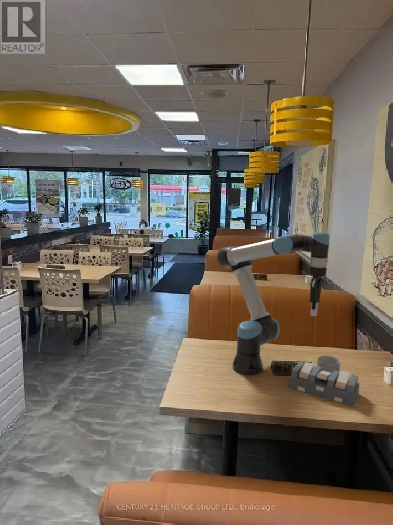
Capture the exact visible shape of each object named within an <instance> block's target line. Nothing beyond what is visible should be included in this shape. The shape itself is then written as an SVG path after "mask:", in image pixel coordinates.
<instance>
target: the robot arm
mask: <svg viewBox="0 0 393 525" xmlns="http://www.w3.org/2000/svg"><path fill="white" fill-rule="evenodd" d="M329 248H330V234H329V233H327V232H318V231H317V232H313V233H312V235H305V234H292V233H291V234H290V235H287V236H286V235H283V236H279V237H276V238H273V239H268V240H264V241H260V242H255V243H252V244H247V245H240V244H239V245H232V246H224V247H222V248H220V249H219V250H218V252H216V262H217V264H218V266H219V267H220V268H223V269H227V270H229V269H230V270H231V272H232V274H234V275H235V276H236V278H237V281H238V284H239V287H240V289H241V293H242V295H243V299H244V301H245V303H246V306H247V310H248V311H249V314H250V318H249V320H245V321H241V322H240V323H239V325H238V326H237V332H236V333H237V339H236V353H235V356H234V358H233V361H232V369H233V371H235V372H237V373H239V374H241V375H249V376H250V375H257V374H260V373H262V372H263V368H264V365H263V361H262V360H263V359H262V358H261V357H262V356H261V347H262V346H263V345H265V344H268V343H270V342H273V341H274V340H276V339H277V338H278V337H279V335H280V331H281V329H280V328H281V327H280V324H279V322H278V321H277V319H275V318H273V317H272V315H271V313H269V312H267V310H266V306H265V304H264V302H263V301H264V300H263V299H262V295H261V293H260V291H259V287H258V285H257V282H256V280H255V277H254V274H253V272H252V268H253V261H254V260H258V259H263V258H267V257H268V258H269V257H273V256H277V255H285V254H289V253H296V252H306V253H310V258H309V259H310V260H309V265H310V266H309V270H308V272H309V273H308V274H309V275H310V276H311V275H312V278H311V282H310V284H309V285H310V288H309V289H310V293H309V295H310V296H309V303H311V304H310V313H309V314H310V316H311V317H317V315H318V310H319V309H318V308H319V307H318V306H319V303H321V294H322V289H323V288H322V286H323V282H324V279H323V278H322V277H325V276H326V275H327V270H328V268H327V266H328V263H329V259H328V257H329Z"/></svg>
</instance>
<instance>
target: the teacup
mask: <svg viewBox="0 0 393 525" xmlns="http://www.w3.org/2000/svg"><path fill="white" fill-rule="evenodd" d="M316 363H317V364H316V366H319V367H321V371H326V372H330V373H331V374H332V372H333V371H334V370H335V371H339V372H340V371H341V370H340V369H341V368H340V367H341V360H340V359H339V358H337V357H335V356H331V355H326V354H322V355H320V356H318V357H317V358H316Z"/></svg>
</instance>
